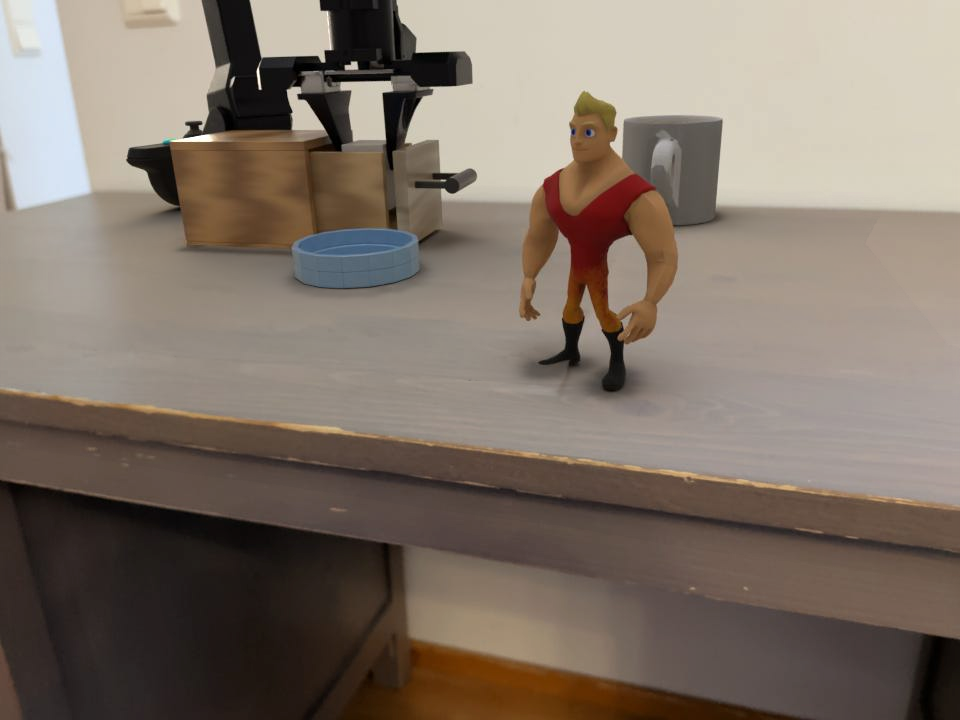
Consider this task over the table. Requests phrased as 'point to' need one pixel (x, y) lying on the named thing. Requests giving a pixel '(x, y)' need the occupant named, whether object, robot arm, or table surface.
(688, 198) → the coffee mug
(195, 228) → the cabinet
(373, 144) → the block
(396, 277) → the bowl
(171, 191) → the controller
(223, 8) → the robot arm
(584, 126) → the action figure
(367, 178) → the drawer
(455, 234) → the table surface
